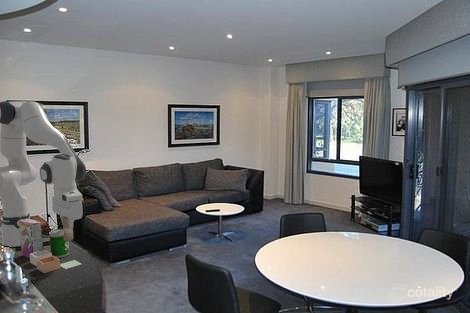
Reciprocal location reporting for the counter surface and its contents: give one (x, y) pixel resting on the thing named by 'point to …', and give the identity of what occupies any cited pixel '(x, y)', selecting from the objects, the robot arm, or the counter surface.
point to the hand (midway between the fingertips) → (67, 226)
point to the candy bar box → (30, 237)
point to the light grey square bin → (39, 256)
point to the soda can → (58, 244)
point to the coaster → (70, 264)
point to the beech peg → (67, 229)
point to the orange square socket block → (48, 264)
